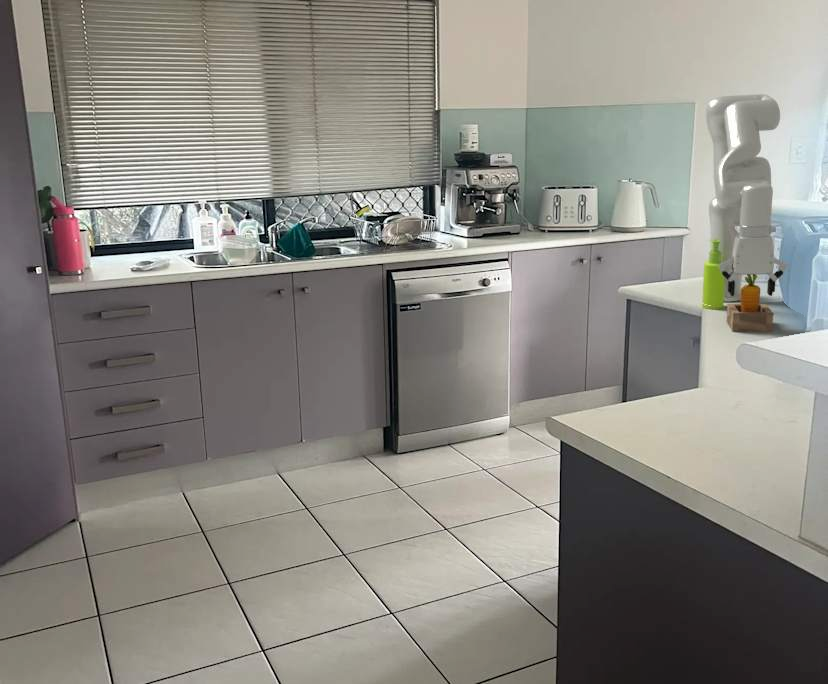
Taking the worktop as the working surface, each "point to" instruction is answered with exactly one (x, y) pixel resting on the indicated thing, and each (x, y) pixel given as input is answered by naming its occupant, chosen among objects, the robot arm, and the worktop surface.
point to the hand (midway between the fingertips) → (750, 294)
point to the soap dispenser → (713, 279)
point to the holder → (749, 318)
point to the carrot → (750, 295)
